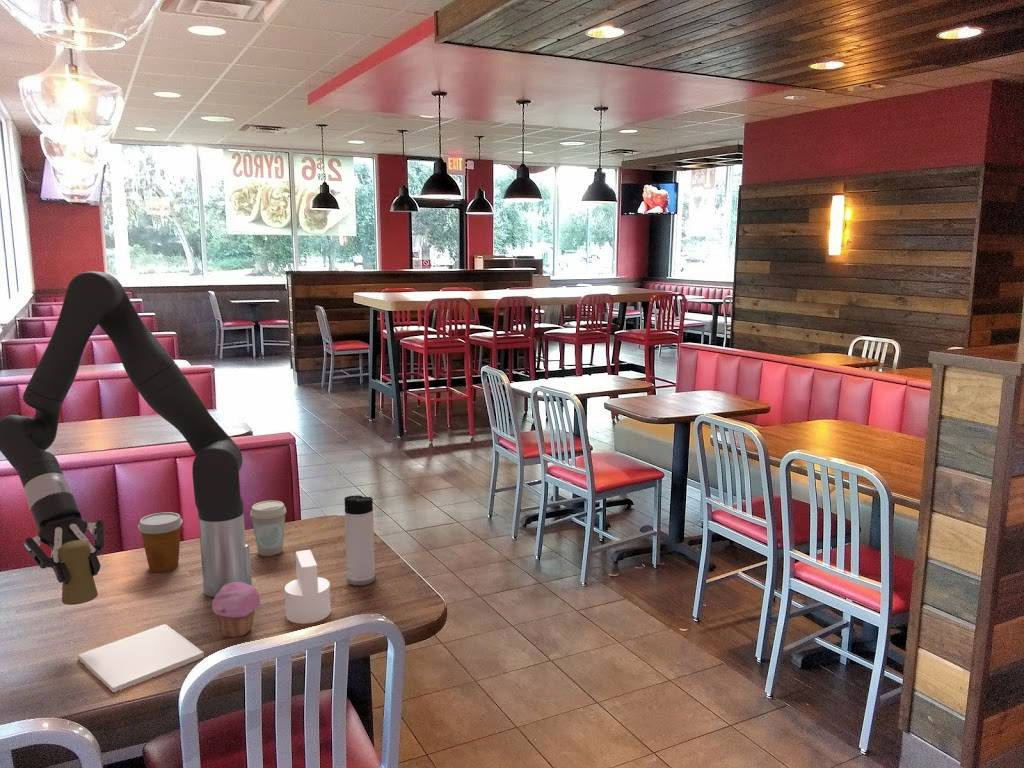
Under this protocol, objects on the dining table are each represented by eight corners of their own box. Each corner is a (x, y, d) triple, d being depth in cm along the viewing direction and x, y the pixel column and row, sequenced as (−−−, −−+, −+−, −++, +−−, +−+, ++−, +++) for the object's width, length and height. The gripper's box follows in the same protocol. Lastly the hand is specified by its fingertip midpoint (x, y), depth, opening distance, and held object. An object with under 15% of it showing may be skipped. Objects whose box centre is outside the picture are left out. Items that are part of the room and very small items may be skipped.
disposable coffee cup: (194, 564, 185) (190, 516, 183) (157, 578, 177) (153, 528, 175) (169, 555, 190) (166, 508, 188) (133, 569, 182) (128, 520, 180)
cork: (82, 606, 144) (75, 549, 142) (54, 603, 145) (47, 547, 143) (105, 592, 150) (99, 537, 148) (77, 589, 151) (71, 535, 149)
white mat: (165, 628, 154) (165, 623, 154) (203, 657, 144) (203, 652, 144) (78, 659, 143) (77, 654, 143) (113, 693, 132) (112, 687, 132)
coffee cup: (247, 558, 189) (244, 511, 187) (258, 545, 197) (256, 499, 195) (282, 558, 189) (280, 511, 187) (292, 545, 197) (290, 499, 195)
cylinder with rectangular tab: (283, 607, 164) (280, 553, 161) (326, 600, 167) (324, 547, 165) (289, 626, 155) (286, 570, 153) (334, 618, 159) (332, 563, 157)
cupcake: (227, 620, 158) (224, 574, 156) (268, 622, 157) (266, 576, 155) (206, 642, 149) (202, 593, 147) (249, 645, 148) (246, 596, 146)
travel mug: (340, 583, 175) (337, 498, 171) (357, 572, 181) (354, 490, 178) (364, 588, 173) (361, 502, 169) (380, 576, 179) (378, 493, 175)
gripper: (12, 501, 144) (42, 581, 138) (94, 483, 154) (125, 556, 148) (7, 521, 148) (35, 600, 142) (87, 502, 159) (117, 575, 153)
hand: (81, 577), depth 145 cm, fingers closed on cork, 4 cm apart
